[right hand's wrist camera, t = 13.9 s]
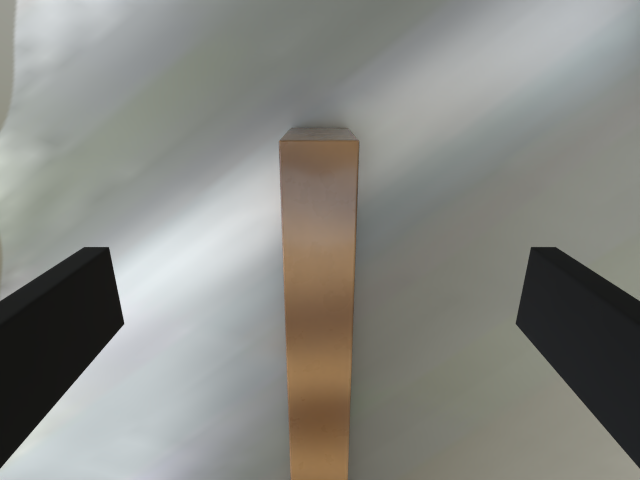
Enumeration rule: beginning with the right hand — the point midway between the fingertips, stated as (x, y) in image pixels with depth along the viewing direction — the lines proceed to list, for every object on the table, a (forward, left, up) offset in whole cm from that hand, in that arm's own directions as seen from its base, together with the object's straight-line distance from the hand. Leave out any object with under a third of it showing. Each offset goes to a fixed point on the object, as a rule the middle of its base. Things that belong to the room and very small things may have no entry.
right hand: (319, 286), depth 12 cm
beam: (+19, +14, -18) cm, 30 cm away
